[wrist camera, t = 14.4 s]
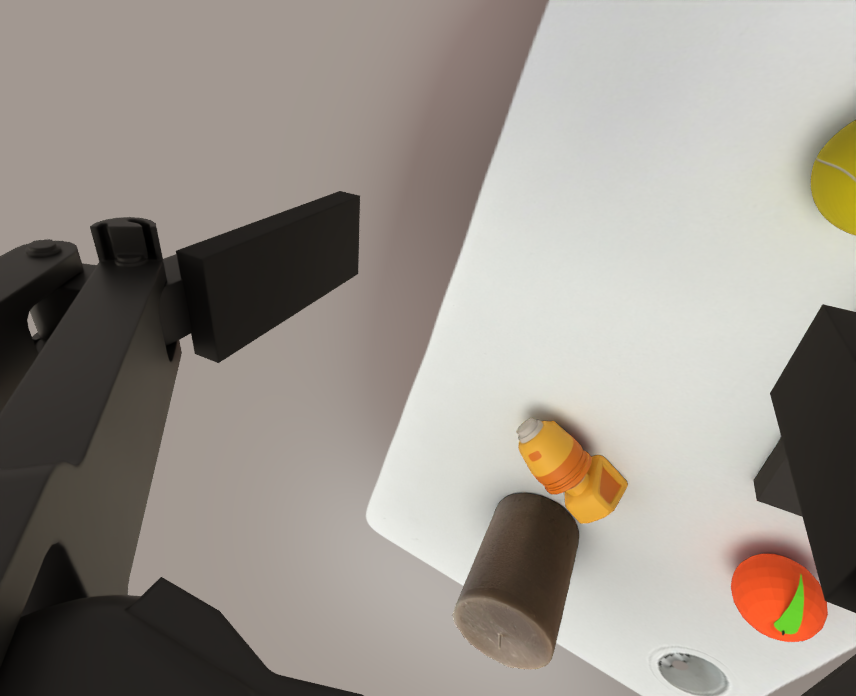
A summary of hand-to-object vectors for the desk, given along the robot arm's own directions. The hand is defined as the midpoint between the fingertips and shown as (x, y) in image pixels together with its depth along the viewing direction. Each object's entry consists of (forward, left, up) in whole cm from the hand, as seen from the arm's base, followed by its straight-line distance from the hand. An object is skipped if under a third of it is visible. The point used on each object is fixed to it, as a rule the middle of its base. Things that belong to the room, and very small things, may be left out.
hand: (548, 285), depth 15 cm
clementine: (+32, +23, -27) cm, 48 cm away
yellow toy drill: (+28, +3, -27) cm, 39 cm away
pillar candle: (+40, +2, -27) cm, 48 cm away
